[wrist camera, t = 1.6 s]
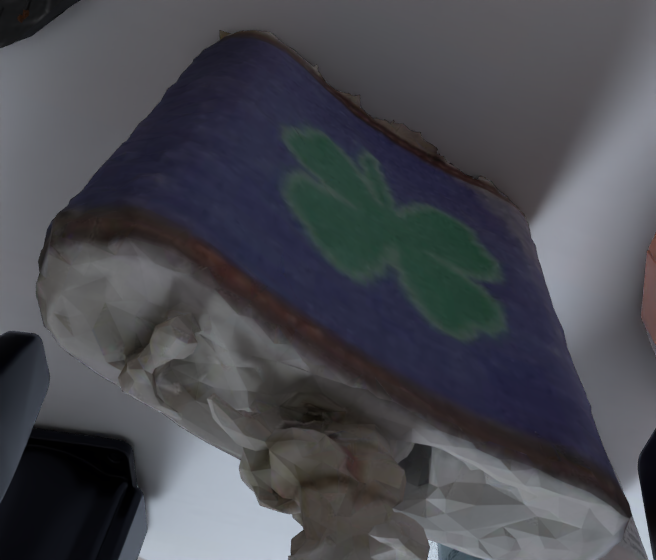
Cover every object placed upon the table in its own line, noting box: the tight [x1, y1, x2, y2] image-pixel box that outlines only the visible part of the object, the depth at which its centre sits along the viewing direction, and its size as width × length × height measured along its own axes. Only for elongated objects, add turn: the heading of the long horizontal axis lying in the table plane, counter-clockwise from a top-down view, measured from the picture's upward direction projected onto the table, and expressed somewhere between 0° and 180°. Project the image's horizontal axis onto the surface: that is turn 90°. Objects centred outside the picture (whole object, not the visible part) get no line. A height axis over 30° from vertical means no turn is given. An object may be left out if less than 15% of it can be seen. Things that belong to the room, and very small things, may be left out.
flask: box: [36, 30, 632, 560], centre depth 11 cm, size 9×3×11 cm, turn 56°
